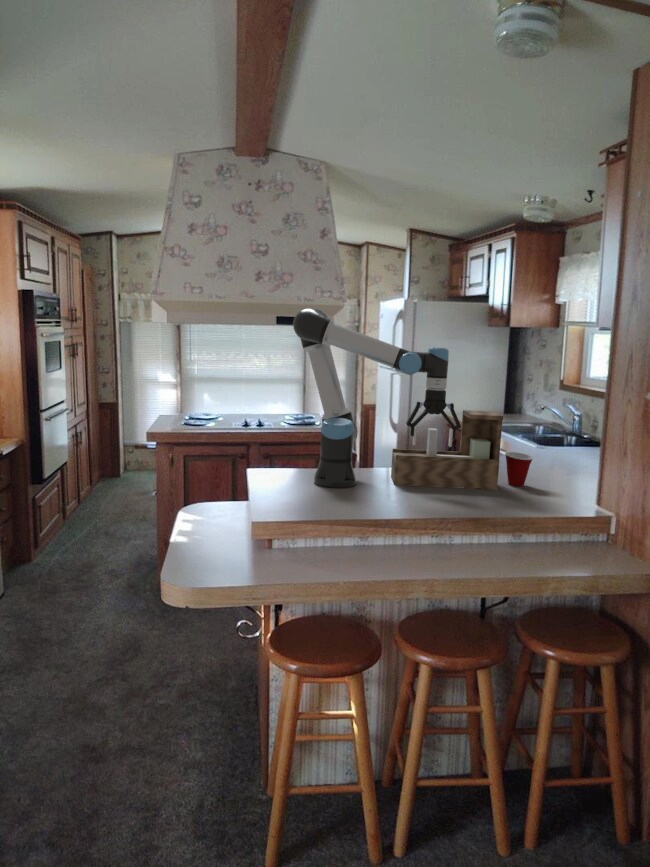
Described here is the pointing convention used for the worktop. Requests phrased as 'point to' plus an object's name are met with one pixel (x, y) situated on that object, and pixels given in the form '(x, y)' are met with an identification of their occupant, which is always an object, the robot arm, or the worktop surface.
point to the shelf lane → (450, 470)
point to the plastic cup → (517, 467)
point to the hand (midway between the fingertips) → (431, 445)
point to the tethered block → (477, 450)
